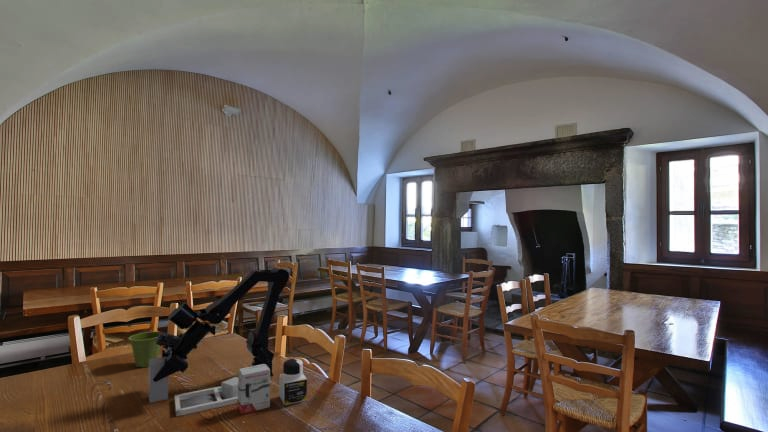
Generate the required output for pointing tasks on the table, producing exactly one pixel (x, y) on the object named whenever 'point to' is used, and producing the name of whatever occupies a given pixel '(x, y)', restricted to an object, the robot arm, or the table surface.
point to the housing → (201, 401)
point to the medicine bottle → (292, 382)
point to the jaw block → (159, 388)
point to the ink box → (253, 388)
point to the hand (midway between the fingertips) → (153, 378)
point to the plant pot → (144, 347)
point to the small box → (229, 388)
